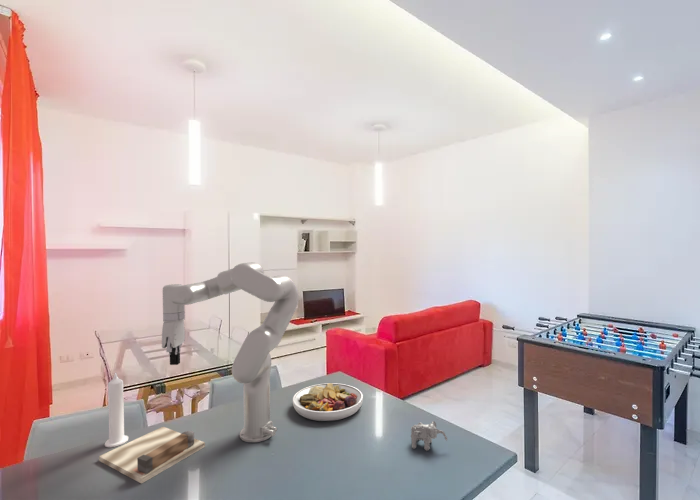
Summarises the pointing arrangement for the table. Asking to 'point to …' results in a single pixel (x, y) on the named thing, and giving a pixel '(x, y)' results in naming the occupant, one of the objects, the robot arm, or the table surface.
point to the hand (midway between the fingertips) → (175, 364)
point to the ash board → (129, 452)
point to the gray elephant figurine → (425, 434)
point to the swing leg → (165, 452)
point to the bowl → (327, 401)
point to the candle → (116, 413)
